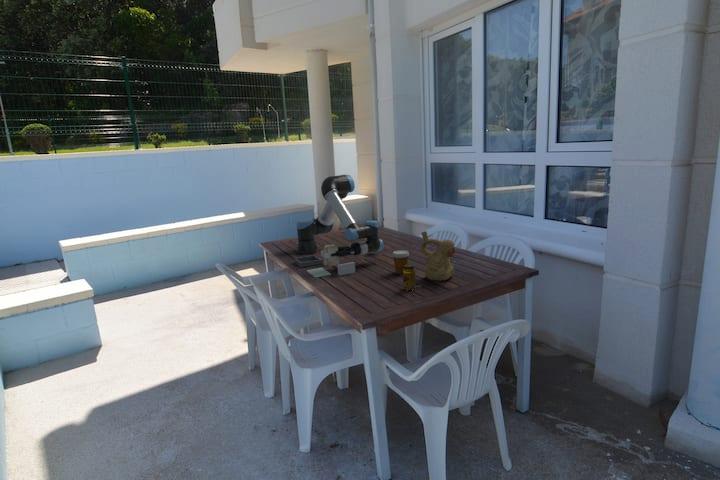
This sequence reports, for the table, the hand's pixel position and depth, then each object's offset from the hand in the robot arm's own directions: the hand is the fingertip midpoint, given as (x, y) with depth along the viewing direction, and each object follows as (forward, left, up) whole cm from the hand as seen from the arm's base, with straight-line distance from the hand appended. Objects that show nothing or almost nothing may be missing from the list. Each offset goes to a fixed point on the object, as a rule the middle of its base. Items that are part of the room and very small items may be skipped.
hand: (323, 254), depth 249 cm
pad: (-2, -3, -11) cm, 11 cm away
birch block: (0, +5, -7) cm, 8 cm away
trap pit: (-24, -2, -11) cm, 26 cm away
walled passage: (-2, +10, -11) cm, 15 cm away
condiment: (+51, +28, -11) cm, 59 cm away
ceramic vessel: (+45, +49, -11) cm, 67 cm away
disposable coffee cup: (+26, +37, -11) cm, 47 cm away
